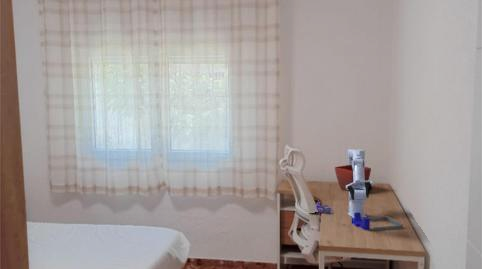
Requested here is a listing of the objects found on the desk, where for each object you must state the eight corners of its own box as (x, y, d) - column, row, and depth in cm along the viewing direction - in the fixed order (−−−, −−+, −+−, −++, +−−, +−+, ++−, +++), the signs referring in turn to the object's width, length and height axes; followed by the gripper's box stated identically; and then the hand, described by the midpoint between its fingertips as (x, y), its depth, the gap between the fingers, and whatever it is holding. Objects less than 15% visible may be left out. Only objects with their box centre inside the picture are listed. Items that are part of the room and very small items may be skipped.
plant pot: (352, 194, 290) (352, 170, 288) (334, 189, 306) (334, 167, 305) (371, 190, 299) (371, 167, 298) (352, 185, 316) (352, 164, 314)
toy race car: (333, 214, 242) (333, 204, 242) (308, 214, 244) (308, 203, 243) (331, 210, 252) (331, 199, 251) (307, 210, 254) (307, 199, 253)
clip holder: (359, 220, 228) (359, 217, 228) (386, 218, 231) (386, 215, 231) (374, 230, 212) (374, 226, 212) (402, 228, 215) (402, 224, 215)
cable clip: (351, 223, 225) (351, 212, 225) (359, 222, 226) (359, 212, 225) (361, 230, 213) (361, 219, 213) (369, 229, 214) (369, 218, 214)
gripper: (343, 175, 224) (343, 196, 215) (369, 170, 217) (371, 191, 208) (348, 182, 228) (348, 203, 219) (374, 177, 221) (375, 198, 212)
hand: (360, 198), depth 214 cm, fingers open, 7 cm apart
